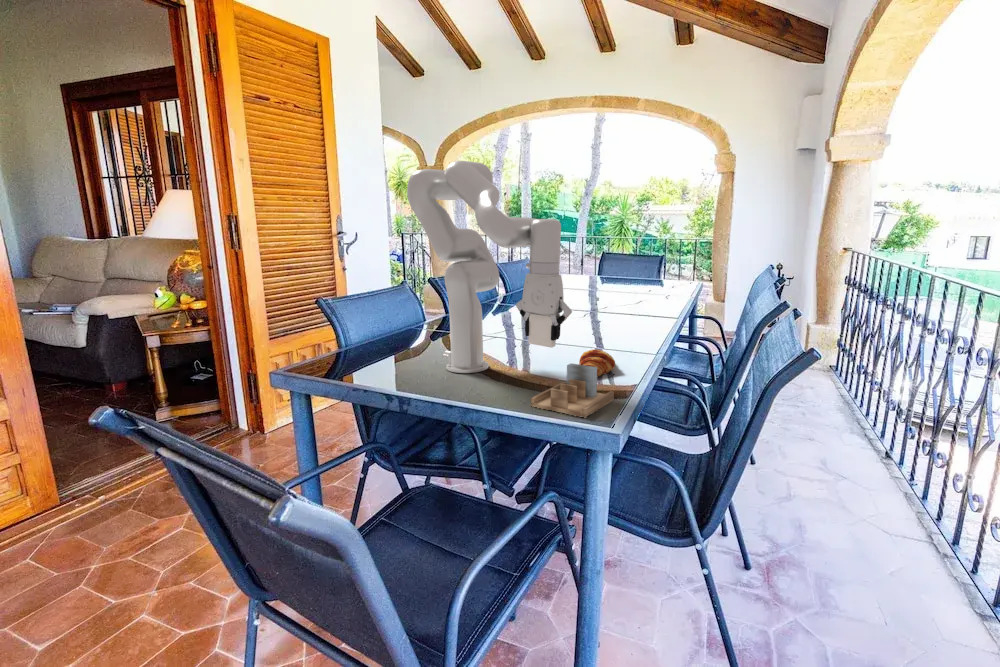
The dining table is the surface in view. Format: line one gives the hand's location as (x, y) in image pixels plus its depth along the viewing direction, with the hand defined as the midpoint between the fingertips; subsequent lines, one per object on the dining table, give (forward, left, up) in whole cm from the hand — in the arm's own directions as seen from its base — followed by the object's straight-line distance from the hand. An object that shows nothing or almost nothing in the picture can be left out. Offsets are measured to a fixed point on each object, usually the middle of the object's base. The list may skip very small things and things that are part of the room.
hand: (542, 336), depth 136 cm
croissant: (+6, +20, -13) cm, 25 cm away
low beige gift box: (0, 0, -2) cm, 2 cm away
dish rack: (+14, -9, -13) cm, 21 cm away
